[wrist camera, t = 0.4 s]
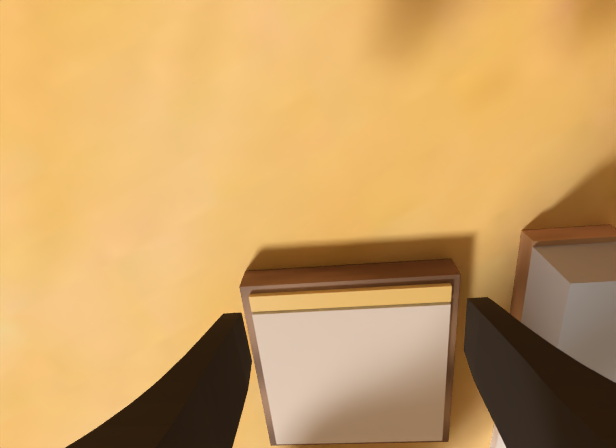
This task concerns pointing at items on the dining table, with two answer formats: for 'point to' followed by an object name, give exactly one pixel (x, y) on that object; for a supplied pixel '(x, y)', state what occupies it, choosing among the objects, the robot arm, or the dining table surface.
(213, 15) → the dining table surface
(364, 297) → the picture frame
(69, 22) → the dining table surface
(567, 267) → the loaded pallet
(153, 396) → the robot arm
